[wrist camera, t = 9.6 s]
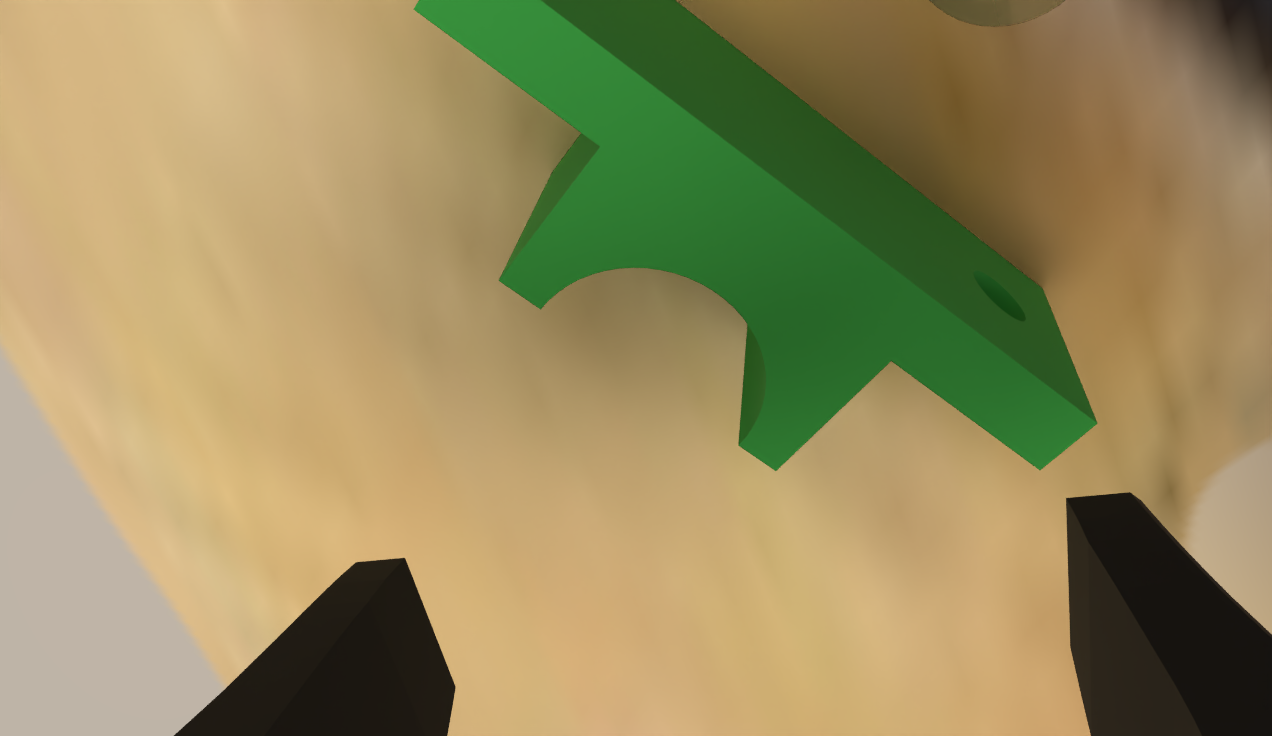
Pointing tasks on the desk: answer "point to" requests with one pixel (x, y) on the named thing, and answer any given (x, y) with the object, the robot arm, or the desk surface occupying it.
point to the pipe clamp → (766, 225)
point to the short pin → (996, 10)
